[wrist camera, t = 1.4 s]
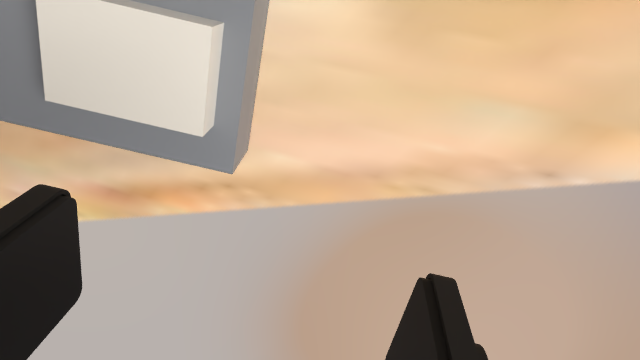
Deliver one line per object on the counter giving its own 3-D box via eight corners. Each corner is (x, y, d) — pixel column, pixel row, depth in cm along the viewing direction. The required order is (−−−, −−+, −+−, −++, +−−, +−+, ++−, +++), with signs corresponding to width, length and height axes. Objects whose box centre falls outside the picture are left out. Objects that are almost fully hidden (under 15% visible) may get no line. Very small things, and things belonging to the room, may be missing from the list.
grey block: (29, 99, 30) (-16, 117, 26) (8, -96, 25) (-52, -107, 21) (247, 150, 30) (232, 174, 27) (273, -32, 25) (258, -32, 21)
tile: (67, 91, 25) (45, 100, 23) (60, -17, 22) (34, -16, 21) (213, 125, 25) (202, 137, 24) (224, 22, 23) (212, 27, 21)
